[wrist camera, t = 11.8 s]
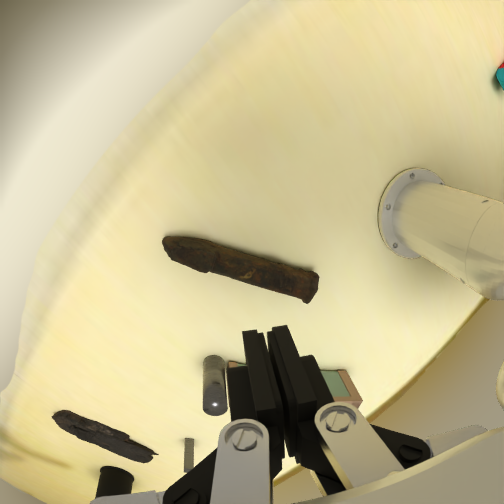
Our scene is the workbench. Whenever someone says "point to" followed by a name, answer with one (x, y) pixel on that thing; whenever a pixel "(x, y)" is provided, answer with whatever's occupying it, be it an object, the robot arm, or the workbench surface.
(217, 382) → the gate posts
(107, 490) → the aerosol can
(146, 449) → the wood
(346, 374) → the gate
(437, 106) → the workbench surface
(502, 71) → the magnet
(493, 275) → the robot arm
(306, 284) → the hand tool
